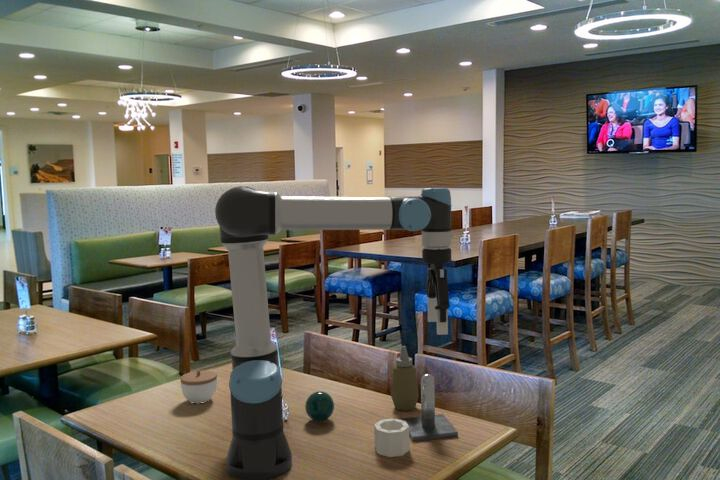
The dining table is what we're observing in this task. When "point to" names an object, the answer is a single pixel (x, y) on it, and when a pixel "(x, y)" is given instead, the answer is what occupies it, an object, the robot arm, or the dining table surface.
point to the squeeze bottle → (404, 383)
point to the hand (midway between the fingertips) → (437, 327)
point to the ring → (391, 437)
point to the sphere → (319, 406)
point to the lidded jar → (199, 385)
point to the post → (429, 416)
